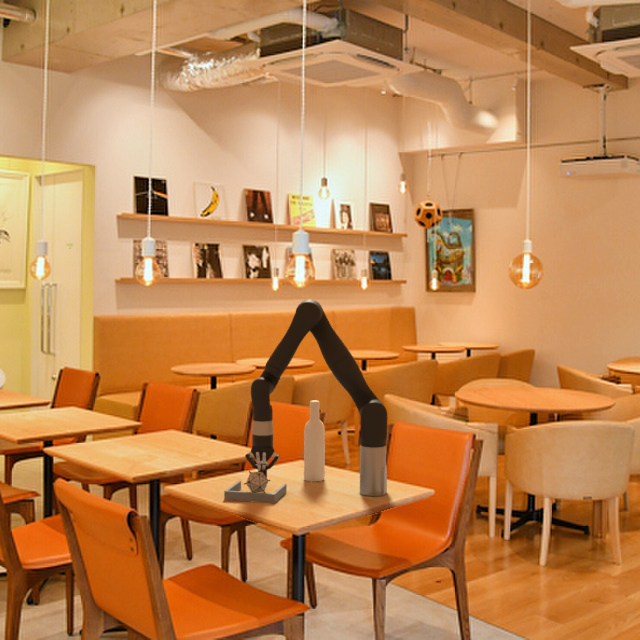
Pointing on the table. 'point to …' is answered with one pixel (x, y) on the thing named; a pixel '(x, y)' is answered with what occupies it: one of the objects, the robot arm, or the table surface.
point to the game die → (257, 481)
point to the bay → (253, 494)
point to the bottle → (314, 445)
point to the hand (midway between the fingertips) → (262, 480)
